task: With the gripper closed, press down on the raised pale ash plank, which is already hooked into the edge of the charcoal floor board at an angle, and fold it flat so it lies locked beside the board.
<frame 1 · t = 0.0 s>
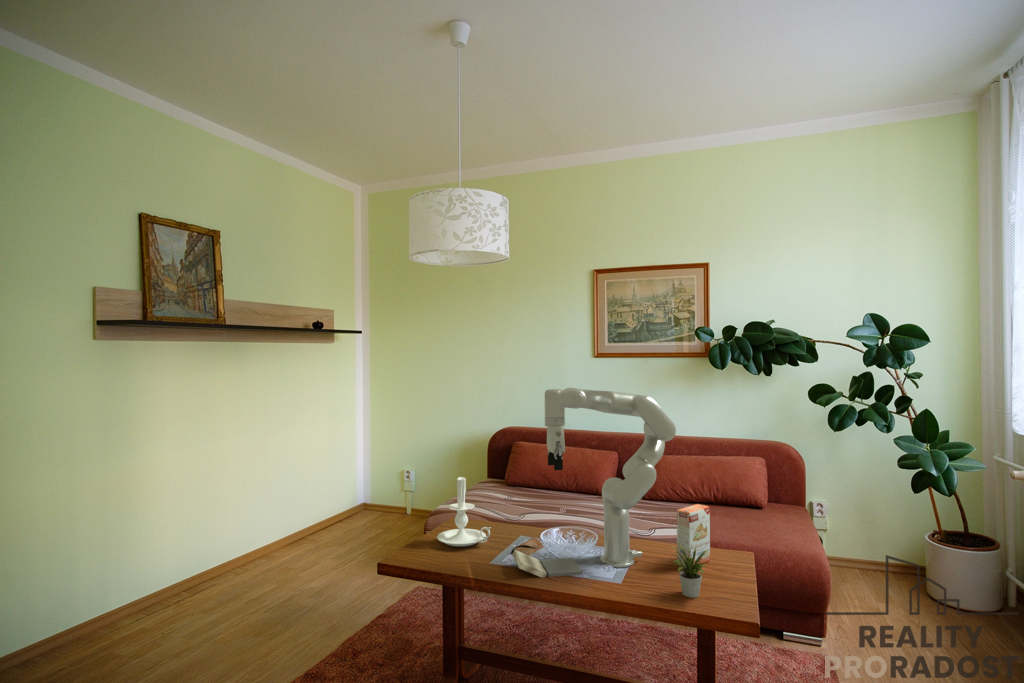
hand: (555, 467, 210), 37 cm above the table, tool pointing down, fingers open, 9 cm apart
cracker box: (694, 564, 210), on the table
ash plank: (530, 564, 202), point 3 cm above the table, hinge at 25.0°
floor board: (560, 571, 204), on the table
house plant: (686, 594, 183), on the table
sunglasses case: (530, 553, 225), on the table
candlestick: (465, 544, 235), on the table
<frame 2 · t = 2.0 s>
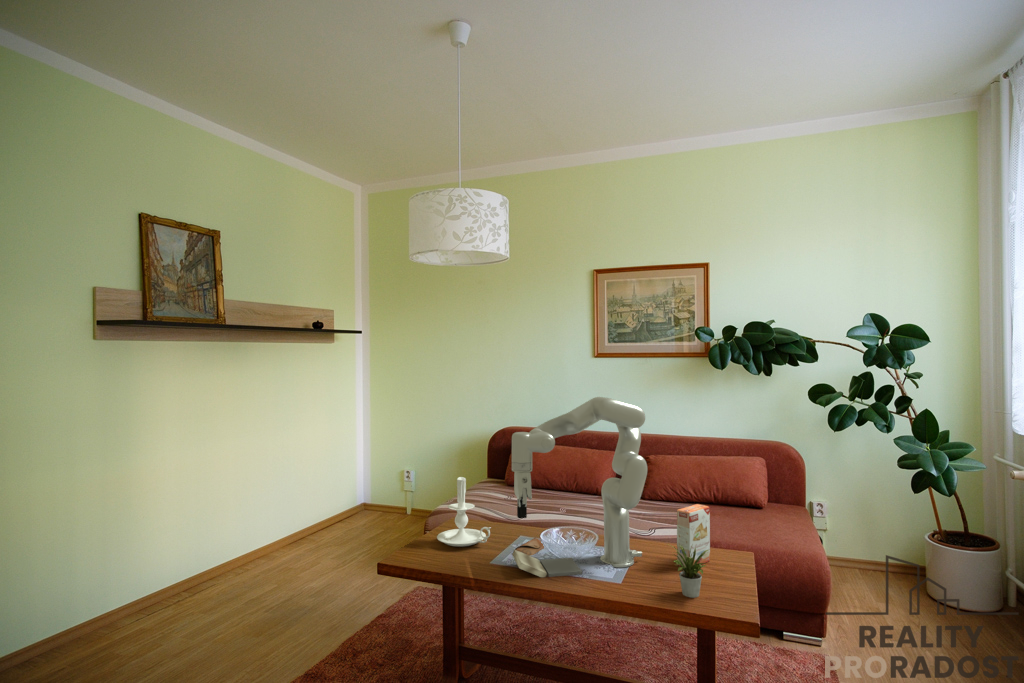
hand: (521, 517, 202), 20 cm above the table, tool pointing down, fingers closed
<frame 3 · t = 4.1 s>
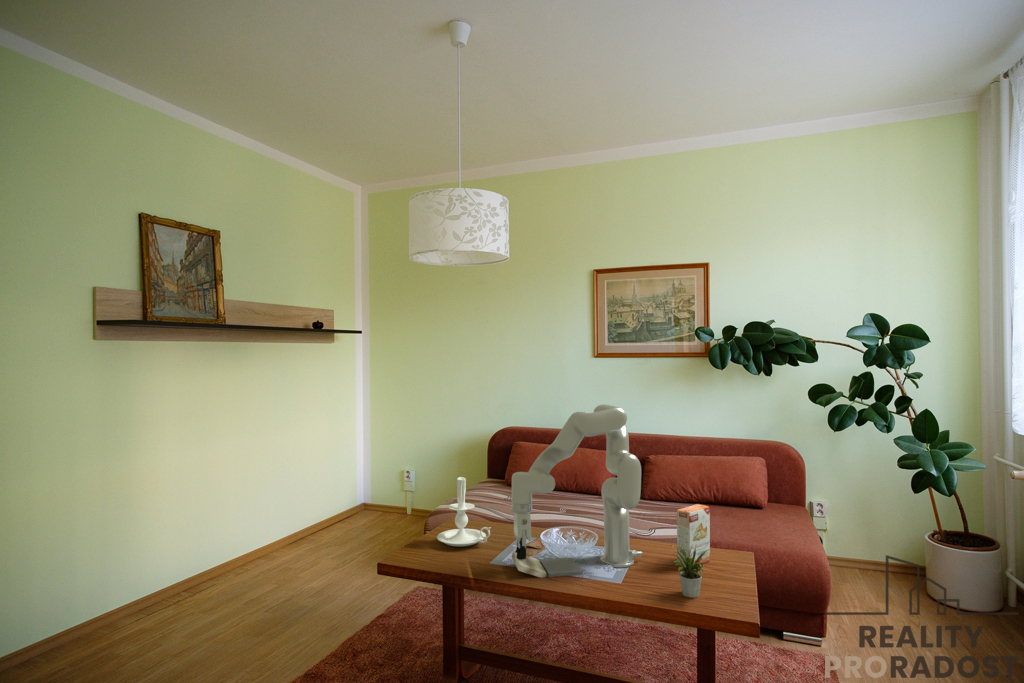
hand: (521, 558, 201), 6 cm above the table, tool pointing down, fingers closed
ash plank: (529, 565, 202), point 3 cm above the table, hinge at 20.7°, touching gripper
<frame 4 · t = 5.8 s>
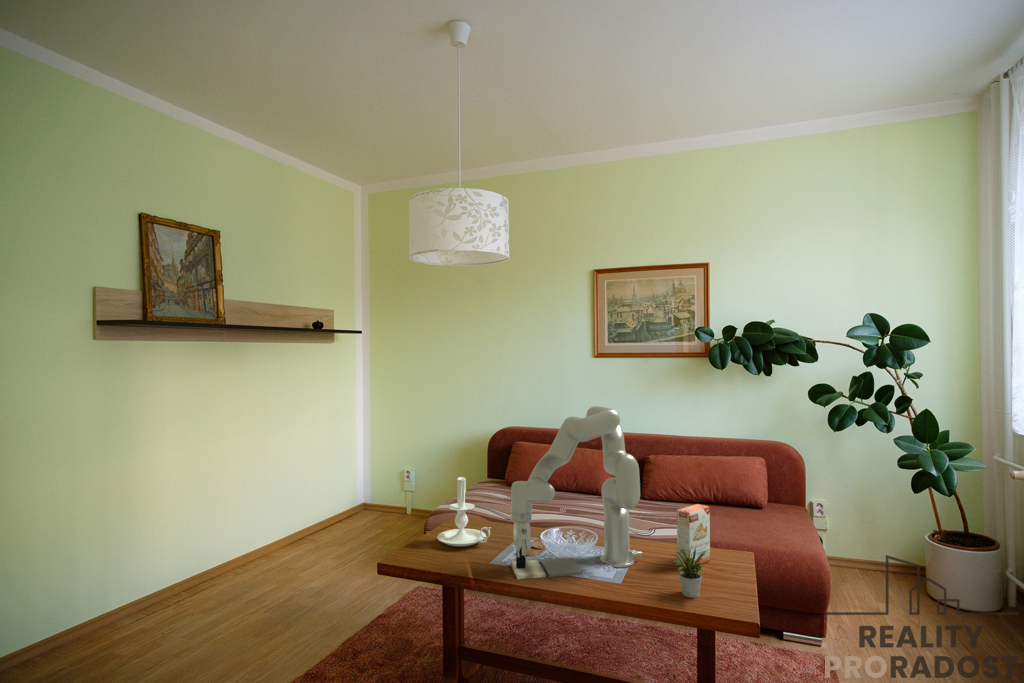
hand: (520, 567, 201), 2 cm above the table, tool pointing down, fingers closed
ash plank: (528, 570, 202), point 1 cm above the table, hinge at 1.9°, touching gripper
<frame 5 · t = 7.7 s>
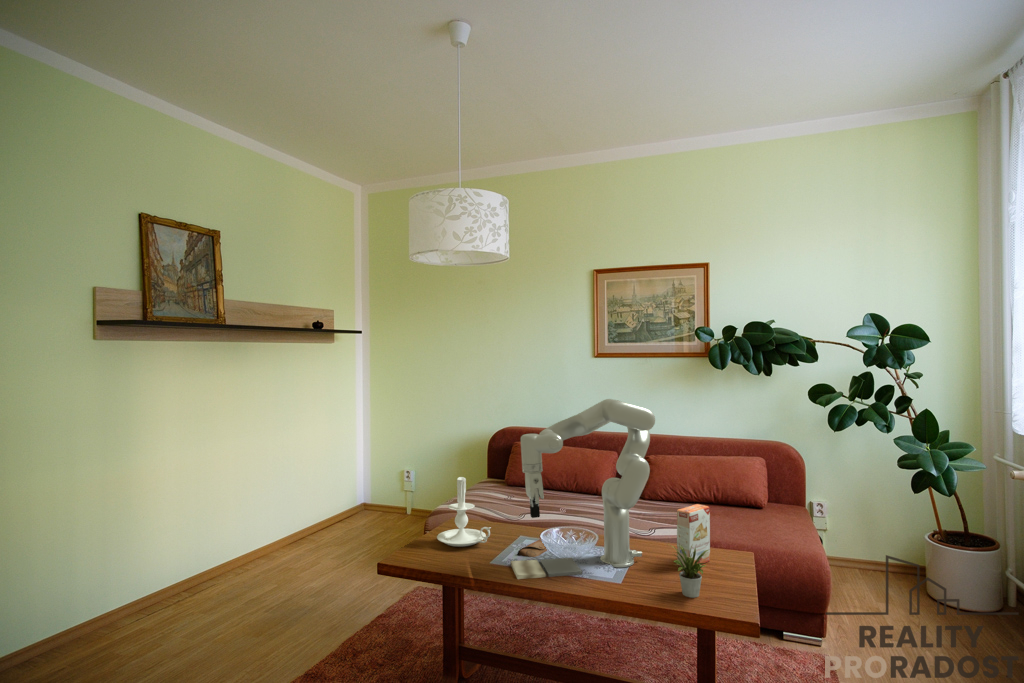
hand: (535, 516, 207), 19 cm above the table, tool pointing down, fingers closed
ash plank: (528, 570, 202), point 1 cm above the table, hinge at 1.7°
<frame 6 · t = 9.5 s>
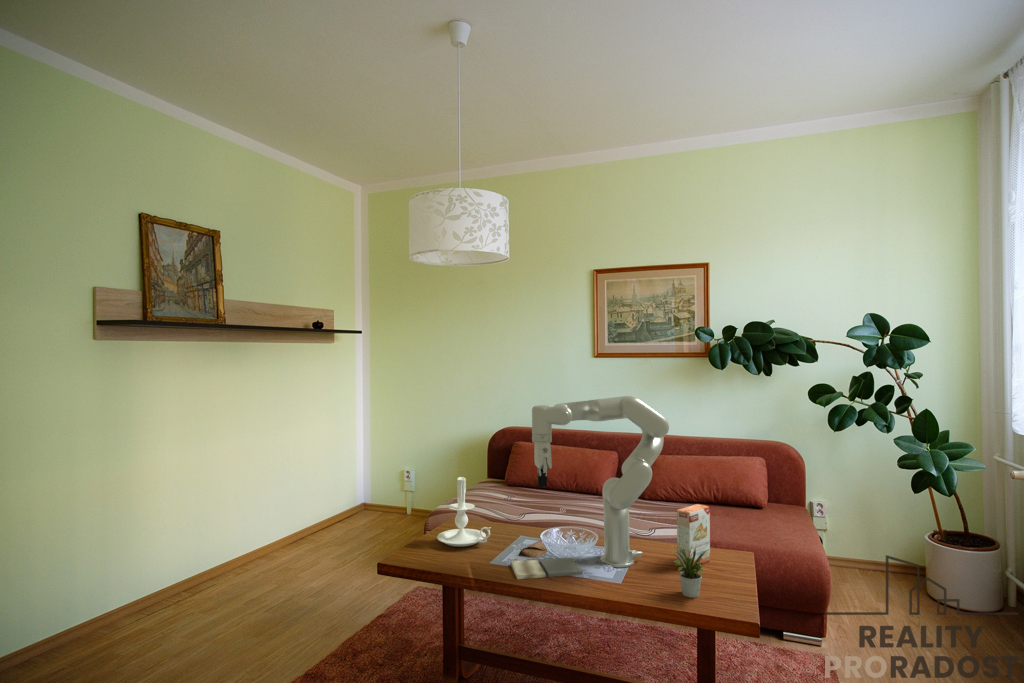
hand: (542, 486, 213), 29 cm above the table, tool pointing down, fingers closed
at the end: ash plank at +2° (first picture: +25°); the gripper is holding nothing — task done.
